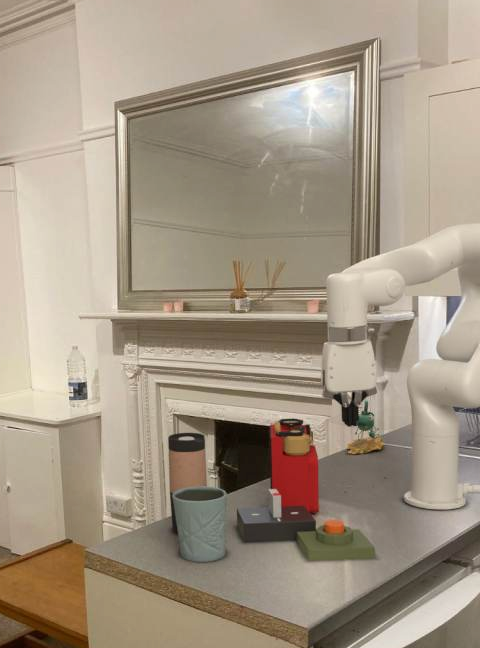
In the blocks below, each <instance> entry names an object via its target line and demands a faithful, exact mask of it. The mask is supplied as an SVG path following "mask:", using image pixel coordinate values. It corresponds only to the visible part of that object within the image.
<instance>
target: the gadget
mask: <svg viewBox="0 0 480 648" xmlns="http://www.w3.org/2000/svg"><path fill="white" fill-rule="evenodd" d="M236 525H237V526H236V527H237V529H238V531H239V534H240V536H241V538H242V541H243V542H244V543H245V544H247V543H250V544H251V543H271V542H272V543H274V542H294V541H295V542H297V532H307V531H316V529H317V521H316V519H315V518H314V516H313V515H312V513H310V512H309V511H308V510H307V509H306V507H305V506H281V518H273V516H272V515H271V513H270V511H269V506H261V507H239V508H236Z"/></svg>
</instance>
